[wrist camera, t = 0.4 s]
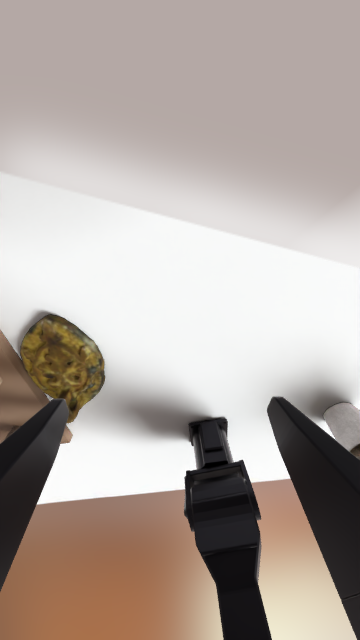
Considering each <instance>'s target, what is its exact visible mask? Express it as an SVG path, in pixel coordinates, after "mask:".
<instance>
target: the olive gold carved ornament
mask: <svg viewBox="0 0 360 640" xmlns="http://www.w3.org/2000/svg"><path fill="white" fill-rule="evenodd" d="M20 354H21V357H22V361H23V363H24V366H25V368H26V370H27V372H28V375H29V376H30V377H31V379H32V380H33V382H34V383H35V384H36V385H37V387H39V388H40V389H41V390H42V391H43V392H44V393H46V394H48V395H50V396H51V397H52V398H54V399H65V401H66V404H67V407H68V410H69V416H68V420H67V423H71V422H73V421H74V419H75V418H76V416H77V415H78V412H79V410H80V409H81V408H82V407H83V405H85V404H86V403H87V402H89V401H90V400H91V399H93V398H94V397H95V396H96V395H97V394H98V393H99V391H100V390H101V388H102V386H103V384H104V381H105V375H104V359H103V357H102V354H101V352H100V351H99V348H98V346H97V345H96V344H95V342H94V341H93V340H92V339H91V338H89V337H88V336H87V335H86V334H84V333H83V332H82V331H81V330H80V329H79V328H78V327H77V326H75V325H74V324H72V323H70V322H68V321H67V320H66V319H64V318H61V317H59V316H55V315H51V314H50V315H47V316H45V317H44V318H42V319H41V320H40V321H38V322H37V323H36V324H35V325H33V326H32V327H31V328H30V329H29V331H28V332H27V333H26V335H25V337H24V339H23V341H22V344H21V351H20Z"/></svg>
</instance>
